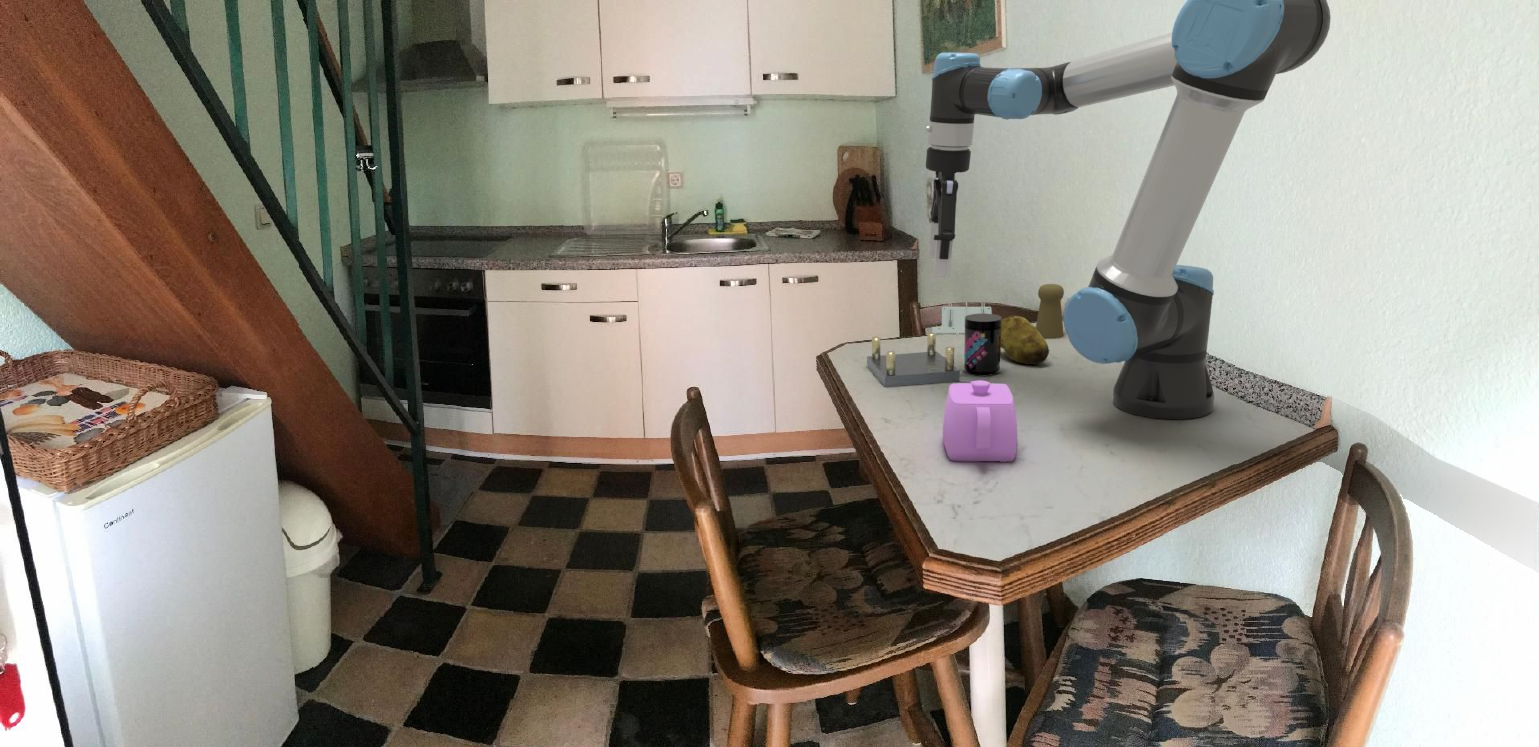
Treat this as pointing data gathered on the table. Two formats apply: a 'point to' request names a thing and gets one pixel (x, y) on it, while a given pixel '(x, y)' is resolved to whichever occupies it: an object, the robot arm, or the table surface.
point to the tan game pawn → (1050, 311)
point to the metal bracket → (957, 318)
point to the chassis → (913, 365)
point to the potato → (1022, 341)
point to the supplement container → (982, 344)
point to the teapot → (980, 422)
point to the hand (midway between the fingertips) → (938, 266)
